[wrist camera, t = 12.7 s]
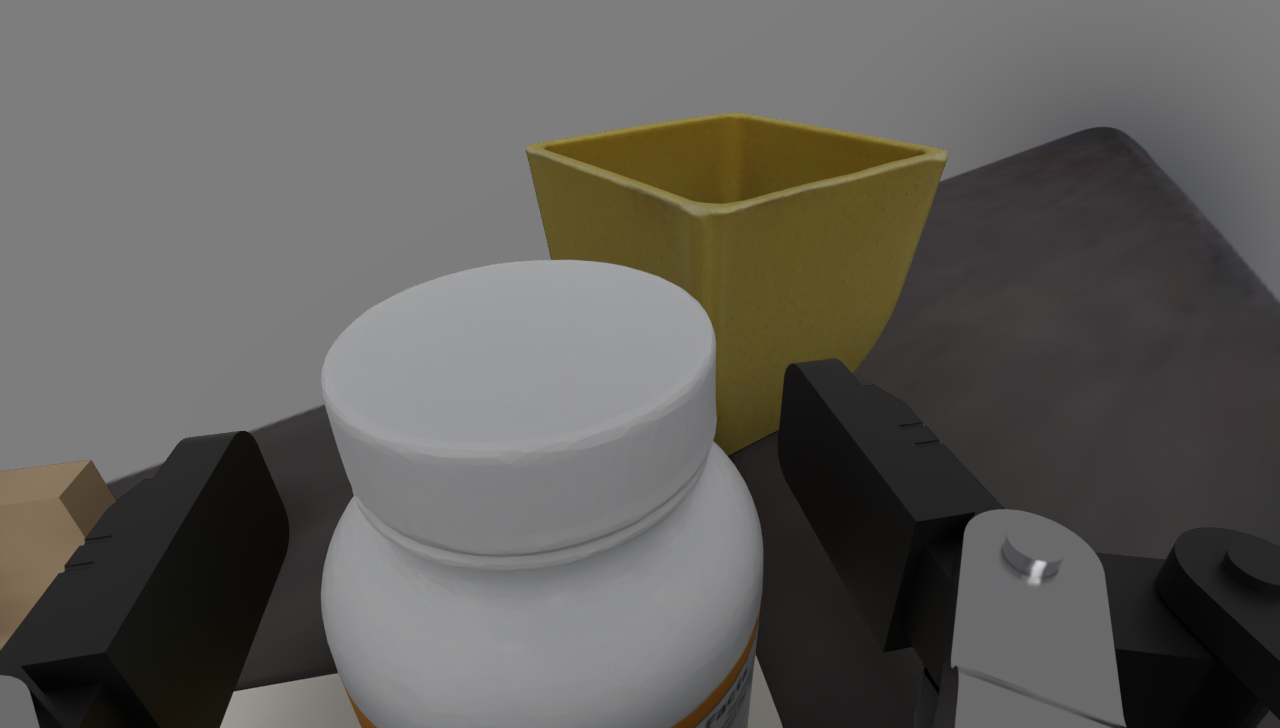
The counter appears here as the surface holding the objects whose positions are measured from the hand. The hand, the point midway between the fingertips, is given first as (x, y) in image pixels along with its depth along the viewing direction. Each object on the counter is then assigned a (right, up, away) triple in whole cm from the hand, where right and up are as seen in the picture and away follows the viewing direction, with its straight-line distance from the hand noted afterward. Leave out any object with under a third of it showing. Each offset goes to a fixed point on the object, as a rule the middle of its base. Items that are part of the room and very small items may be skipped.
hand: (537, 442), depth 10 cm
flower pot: (+4, 0, +13) cm, 14 cm away
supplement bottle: (+1, -7, +2) cm, 7 cm away
